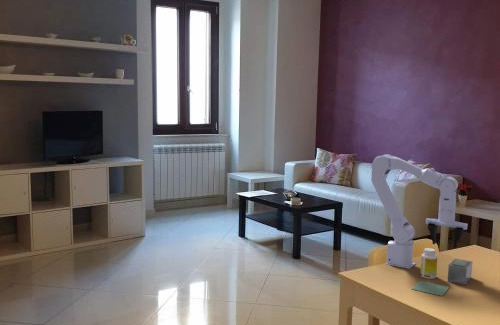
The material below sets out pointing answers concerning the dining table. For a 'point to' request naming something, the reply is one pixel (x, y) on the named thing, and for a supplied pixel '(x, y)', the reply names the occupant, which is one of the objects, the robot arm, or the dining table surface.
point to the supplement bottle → (428, 264)
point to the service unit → (460, 271)
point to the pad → (430, 288)
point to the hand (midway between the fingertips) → (444, 245)
